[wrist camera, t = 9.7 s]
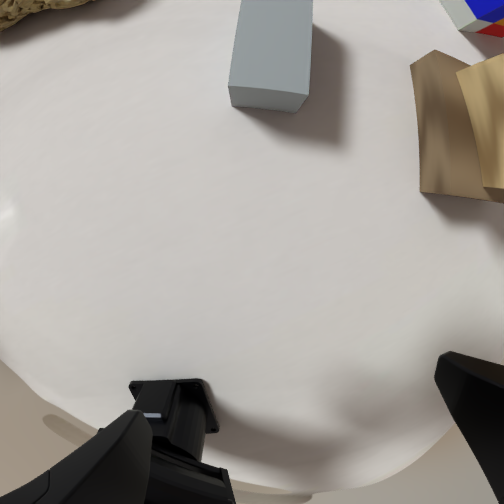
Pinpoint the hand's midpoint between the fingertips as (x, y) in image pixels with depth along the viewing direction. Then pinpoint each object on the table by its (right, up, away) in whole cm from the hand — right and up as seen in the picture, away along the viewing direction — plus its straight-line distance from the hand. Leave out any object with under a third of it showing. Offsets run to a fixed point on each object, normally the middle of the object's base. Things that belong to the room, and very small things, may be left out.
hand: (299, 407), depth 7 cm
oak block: (+15, +13, +6) cm, 21 cm away
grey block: (0, +17, +8) cm, 19 cm away
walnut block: (+15, +14, +10) cm, 22 cm away
